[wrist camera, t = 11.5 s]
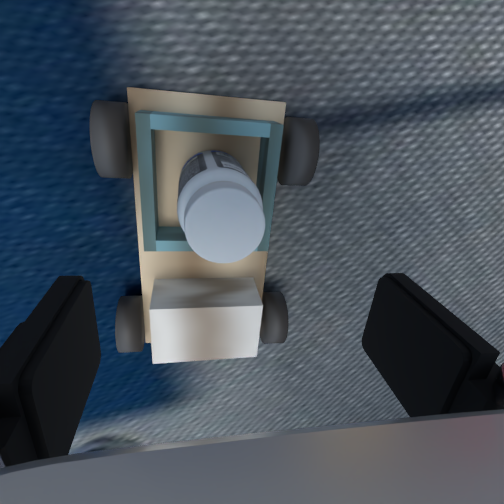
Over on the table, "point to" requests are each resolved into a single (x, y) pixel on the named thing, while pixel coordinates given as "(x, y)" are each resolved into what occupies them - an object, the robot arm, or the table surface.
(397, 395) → the robot arm
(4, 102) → the table surface
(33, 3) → the table surface
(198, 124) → the toy car chassis
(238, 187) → the pill bottle
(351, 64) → the table surface
